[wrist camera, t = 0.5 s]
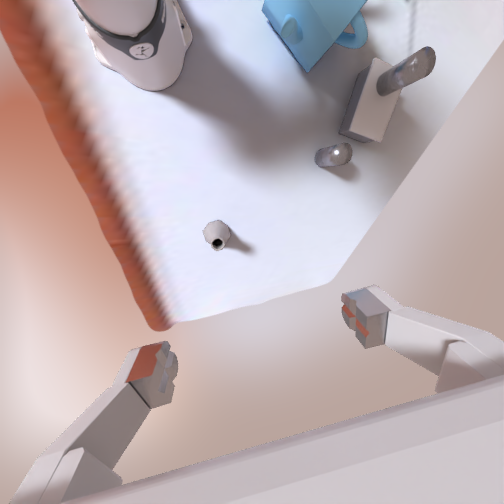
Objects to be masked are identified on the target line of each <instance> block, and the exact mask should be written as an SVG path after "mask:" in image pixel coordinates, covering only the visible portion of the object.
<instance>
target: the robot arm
mask: <svg viewBox="0 0 504 504" xmlns="http://www.w3.org/2000/svg"><path fill="white" fill-rule="evenodd" d="M73 2H74V4H75V5H76V7H77V8H76V9H77V13H78V15H79V17H80V19H81V20H82V21H84V22H85V25H86V29H85V31H86V33H87V35H88V36H89V38H90V39H91V42H92V46H93V49H94V53H95V56H96V58H97V59H98V61H99V62H100V63H101V64H102V65H104V66H105V67H107V68H110V69H112V70H115V71H117V72H118V73H120V74H121V75H122V76H123V77H124V78H125V79H127V80H128V81H129V82H130V83H132V84H134V85H135V86H137V87H139V88H142V89H145V90H151V91H156V90H162V89H165V88H167V87H169V86H170V85H172V84H173V83H174V82H175V81H176V80H177V78H178V77H179V75H180V73H181V70H182V67H183V62H184V56H185V52H186V50H187V49H188V47H189V46H190V44H191V42H192V38H193V37H192V32H191V29H190V27H189V25H188V23H187V21H186V19H185V17H184V15H183V12H182V10H181V8H180V6H179V4H178V2H177V0H73ZM181 26H184V29H182V28H181ZM341 298H342V302H343V303H344V305H343V307H342V315H343V318H344V321H345V322H346V324H347V326H348V327H349V328H350V329H352V330H354V331H356V337H357V339H358V340H359V341H360V343H361V344H362V345H363V346H364V348H365V349H366V348H370V347H374V346H379V345H383V344H385V345H386V346H388V347H389V348H391V349H393V350H394V351H396V352H398V353H400V354H401V355H403V356H405V357H406V358H408V359H410V360H412V361H413V362H415V363H417V364H419V365H420V366H422V367H424V368H426V369H427V370H429V371H431V372H433V373H434V374H436V375H438V376H439V377H438V380H437V383H436V388H435V391H436V392H437V393H438V394H435V395H431V396H428V397H424V398H421V399H417V400H414V401H411V402H407V403H404V404H400V405H397V406H393V407H390V408H386V409H383V410H379V411H376V412H372V413H370V414H366V415H362V416H359V417H355V418H352V419H348V420H345V421H341V422H338V423H334V424H331V425H327V426H324V427H321V428H317V429H314V430H310V431H307V432H303V433H300V434H296V435H293V436H289V437H286V438H283V439H279V440H276V441H272V442H269V443H265V444H262V445H258V446H255V447H252V448H248V449H245V450H241V451H238V452H235V453H231V454H227V455H224V456H220V457H217V458H214V459H210V460H207V461H203V462H200V463H197V464H193V465H189V466H186V467H183V468H179V469H176V470H172V471H169V472H165V473H162V474H158V475H155V476H151V477H148V478H145V479H141V480H138V481H134V482H131V483H127V484H124V485H122V479H121V477H120V476H119V475H117V474H116V473H115V472H114V471H112V470H113V468H114V466H115V465H116V463H117V462H118V460H119V459H120V457H121V456H122V454H123V452H124V451H125V449H126V448H127V446H128V445H129V443H130V442H131V440H132V439H133V437H134V435H135V434H136V432H137V431H138V429H139V428H140V426H141V425H142V423H143V421H144V420H145V418H146V417H147V415H148V413H149V412H150V411H151V410H150V409H152V408H156V407H159V406H162V405H165V404H168V403H171V400H172V396H173V391H174V384H173V382H172V381H173V380H174V378H175V377H176V376H177V372H178V361H177V357H176V355H175V353H173V352H171V351H169V350H170V345H169V343H168V342H167V341H163V342H159V343H155V344H150V345H146V346H143V347H139V348H135V349H132V350H130V351H129V352H128V354H127V356H126V358H125V360H124V363H123V364H122V366H121V368H120V371H119V372H118V374H117V376H116V378H115V381H114V382H113V385H112V387H110V388H107V389H106V390H105V391H104V392H103V393H102V394H101V395H100V396H99V397H98V398H97V399H96V400H95V401H94V402H93V403H92V404H91V405H90V406H89V407H88V408H87V409H86V410H85V411H84V412H83V413H82V414H81V415H80V416H79V417H78V418H77V419H76V420H75V421H74V422H73V423H72V424H71V425H70V426H69V427H68V428H67V429H66V430H65V431H64V432H63V433H62V434H61V435H60V436H59V437H58V438H57V439H56V440H55V441H54V442H53V443H52V444H51V445H50V446H49V447H48V448H47V449H46V450H45V451H44V452H43V453H42V454H41V455H40V456H39V457H38V458H37V459H36V461H35V462H34V464H33V466H32V467H31V469H30V470H29V472H28V474H27V475H26V477H25V478H24V480H23V482H22V483H21V485H20V486H19V488H18V490H17V491H16V493H15V495H14V496H13V498H12V499H11V501H10V503H9V504H504V342H503V341H501V340H500V339H498V338H497V337H495V336H494V335H492V334H491V333H489V332H487V331H484V330H480V329H477V328H473V327H471V326H468V325H465V324H462V323H458V322H455V321H452V320H449V319H446V318H443V317H439V316H436V315H433V314H430V313H427V312H423V311H421V310H418V309H414V308H411V307H404V306H402V305H401V304H400V303H398V302H397V301H396V300H395V299H393V298H392V297H391V296H390V295H388V294H387V293H386V292H384V291H383V290H382V289H381V288H380V287H378V286H376V285H371V286H368V287H364V288H361V289H357V290H354V291H350V292H347V293H343V294H342V297H341Z"/></svg>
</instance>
